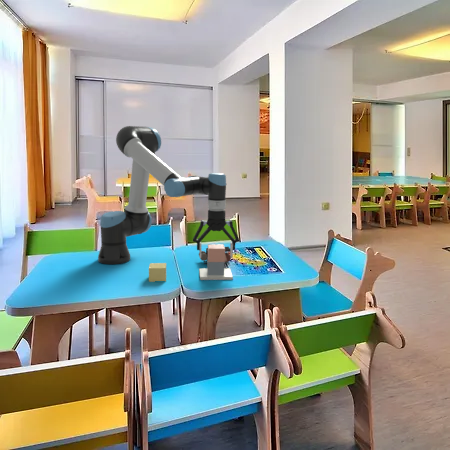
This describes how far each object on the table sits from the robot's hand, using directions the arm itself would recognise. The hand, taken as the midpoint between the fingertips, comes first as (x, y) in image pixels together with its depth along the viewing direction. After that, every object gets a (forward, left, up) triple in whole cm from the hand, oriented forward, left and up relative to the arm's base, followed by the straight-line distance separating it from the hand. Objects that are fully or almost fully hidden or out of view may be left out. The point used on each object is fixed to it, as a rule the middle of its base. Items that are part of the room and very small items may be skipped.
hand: (215, 257), depth 178 cm
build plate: (0, 0, -8) cm, 8 cm away
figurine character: (+1, +19, -8) cm, 21 cm away
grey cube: (0, 0, -7) cm, 7 cm away
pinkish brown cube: (0, 0, -1) cm, 1 cm away
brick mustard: (-25, -4, -8) cm, 27 cm away
